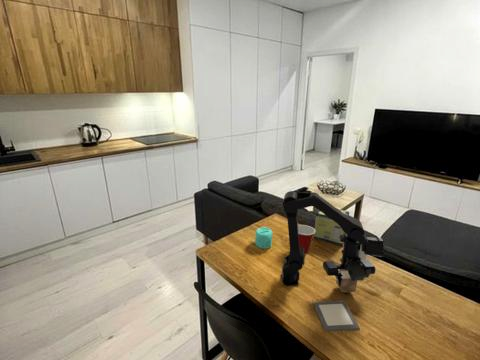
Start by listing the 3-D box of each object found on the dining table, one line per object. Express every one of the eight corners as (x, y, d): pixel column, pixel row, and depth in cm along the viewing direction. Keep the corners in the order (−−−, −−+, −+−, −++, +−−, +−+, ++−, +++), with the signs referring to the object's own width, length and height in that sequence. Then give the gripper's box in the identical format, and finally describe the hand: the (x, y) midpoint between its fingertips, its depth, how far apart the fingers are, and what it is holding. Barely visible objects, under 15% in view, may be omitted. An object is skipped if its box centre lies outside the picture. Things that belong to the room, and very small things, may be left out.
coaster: (324, 331, 87) (324, 329, 87) (313, 303, 98) (313, 302, 98) (359, 329, 87) (359, 327, 87) (344, 301, 99) (344, 300, 99)
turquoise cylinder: (255, 247, 133) (255, 234, 131) (257, 239, 141) (257, 226, 138) (270, 249, 132) (271, 235, 129) (272, 241, 139) (272, 228, 137)
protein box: (318, 230, 150) (320, 205, 145) (346, 237, 142) (350, 211, 137) (313, 238, 141) (315, 212, 136) (343, 246, 134) (346, 219, 129)
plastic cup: (316, 247, 133) (318, 226, 129) (309, 258, 124) (311, 236, 121) (296, 241, 139) (297, 221, 135) (288, 251, 130) (289, 230, 126)
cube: (341, 292, 101) (343, 280, 99) (336, 282, 106) (337, 271, 105) (355, 291, 102) (357, 280, 100) (349, 281, 107) (350, 270, 105)
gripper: (335, 265, 91) (330, 301, 96) (387, 263, 91) (379, 299, 97) (324, 247, 101) (320, 280, 106) (370, 246, 102) (364, 278, 107)
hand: (345, 284), depth 104 cm, fingers closed on cube, 5 cm apart
